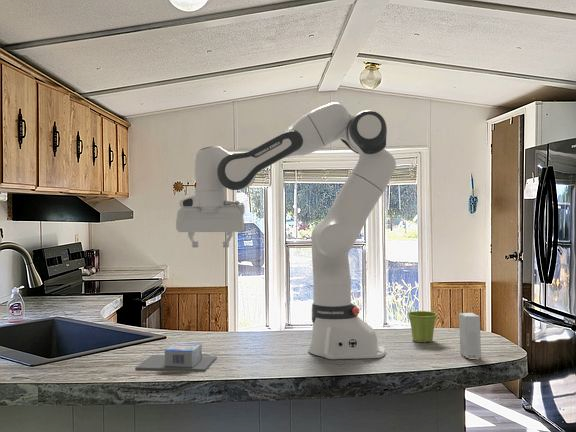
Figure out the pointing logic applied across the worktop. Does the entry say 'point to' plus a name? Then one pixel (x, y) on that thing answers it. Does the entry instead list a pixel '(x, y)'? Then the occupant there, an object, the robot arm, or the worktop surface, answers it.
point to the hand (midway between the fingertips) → (210, 247)
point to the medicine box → (183, 355)
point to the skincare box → (470, 335)
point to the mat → (159, 364)
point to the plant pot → (422, 325)
